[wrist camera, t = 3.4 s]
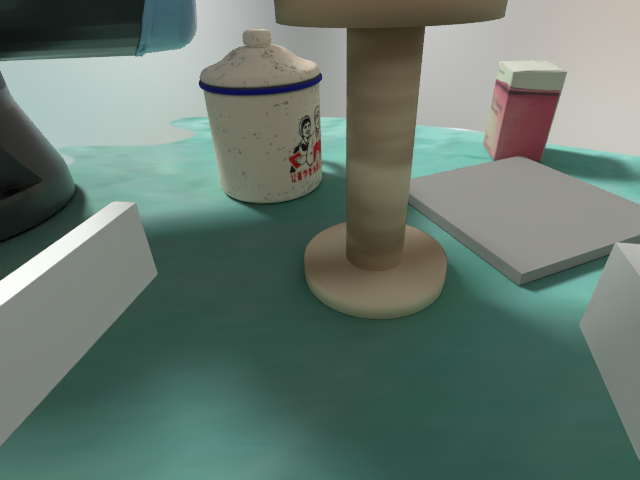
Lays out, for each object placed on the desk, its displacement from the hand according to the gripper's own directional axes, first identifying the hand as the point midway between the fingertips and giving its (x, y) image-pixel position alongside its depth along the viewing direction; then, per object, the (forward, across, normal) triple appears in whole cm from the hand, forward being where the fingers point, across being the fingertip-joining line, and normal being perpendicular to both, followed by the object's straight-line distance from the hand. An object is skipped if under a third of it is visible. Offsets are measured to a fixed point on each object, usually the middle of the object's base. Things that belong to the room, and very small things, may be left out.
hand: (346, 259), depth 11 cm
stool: (+10, 0, -8) cm, 12 cm away
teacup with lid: (+22, -10, -8) cm, 25 cm away
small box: (+31, +11, -8) cm, 33 cm away
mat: (+19, +10, -8) cm, 22 cm away
